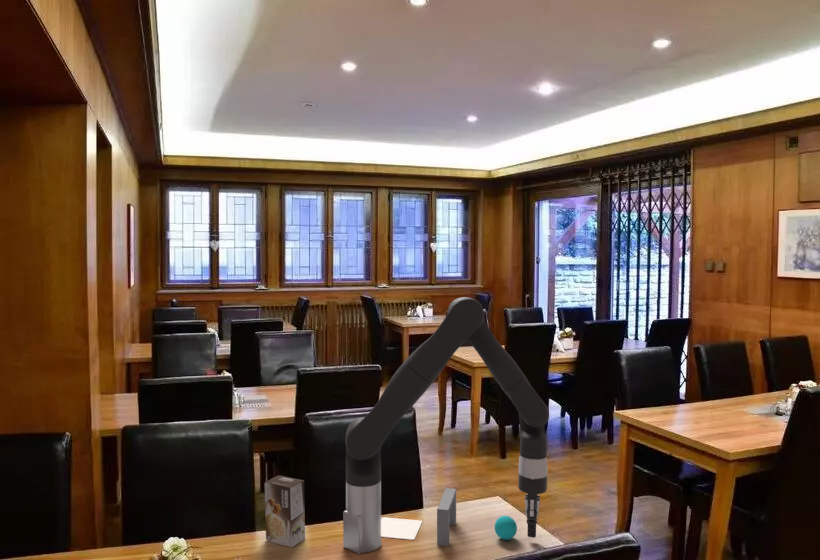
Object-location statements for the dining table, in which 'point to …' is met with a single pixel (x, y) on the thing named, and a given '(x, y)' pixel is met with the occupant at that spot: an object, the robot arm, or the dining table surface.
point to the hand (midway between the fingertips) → (531, 536)
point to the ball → (505, 527)
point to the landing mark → (399, 528)
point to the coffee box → (285, 510)
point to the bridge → (446, 516)
